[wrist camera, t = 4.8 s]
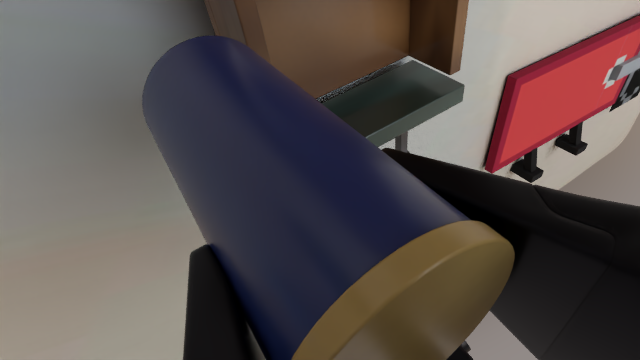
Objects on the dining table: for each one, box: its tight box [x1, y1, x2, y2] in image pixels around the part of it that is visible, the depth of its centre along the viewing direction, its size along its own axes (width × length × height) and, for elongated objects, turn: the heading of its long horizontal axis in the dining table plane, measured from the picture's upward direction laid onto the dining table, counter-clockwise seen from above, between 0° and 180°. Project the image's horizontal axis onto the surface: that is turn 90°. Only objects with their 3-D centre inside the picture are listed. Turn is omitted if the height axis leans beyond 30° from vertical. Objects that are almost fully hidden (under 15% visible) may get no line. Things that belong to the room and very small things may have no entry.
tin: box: [142, 36, 515, 360], centre depth 10 cm, size 5×5×10 cm
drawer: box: [204, 0, 469, 153], centre depth 19 cm, size 20×13×5 cm, turn 10°
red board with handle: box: [485, 15, 640, 183], centre depth 44 cm, size 30×3×15 cm
